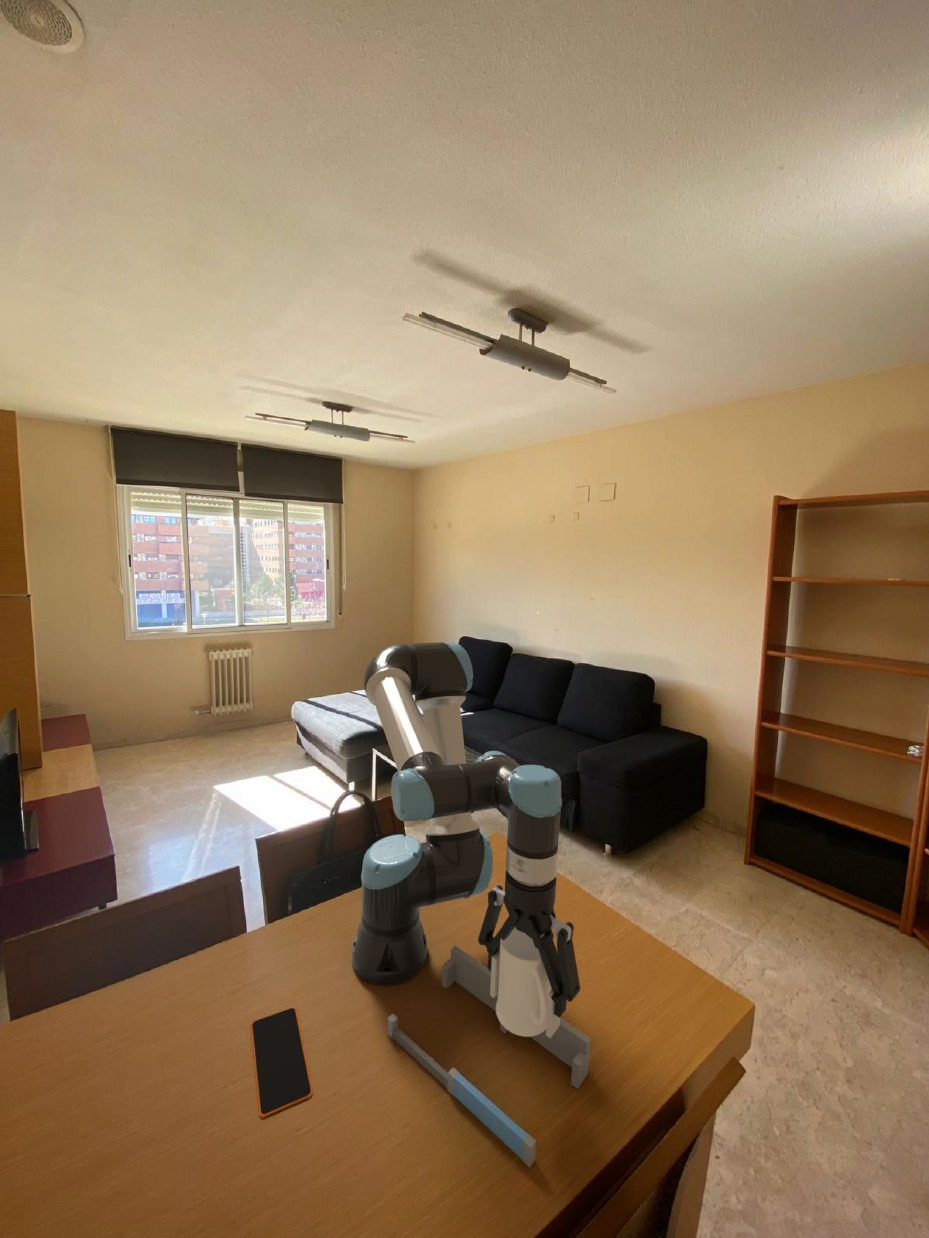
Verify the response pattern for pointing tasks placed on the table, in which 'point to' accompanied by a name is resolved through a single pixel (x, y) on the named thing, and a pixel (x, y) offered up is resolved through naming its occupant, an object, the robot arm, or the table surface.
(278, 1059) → the smartphone
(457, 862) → the robot arm
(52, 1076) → the table surface
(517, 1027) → the mug
